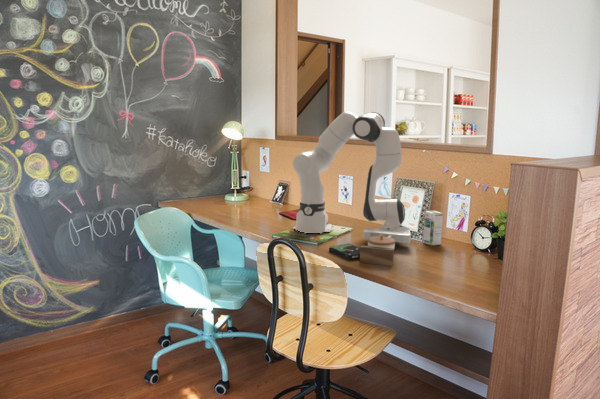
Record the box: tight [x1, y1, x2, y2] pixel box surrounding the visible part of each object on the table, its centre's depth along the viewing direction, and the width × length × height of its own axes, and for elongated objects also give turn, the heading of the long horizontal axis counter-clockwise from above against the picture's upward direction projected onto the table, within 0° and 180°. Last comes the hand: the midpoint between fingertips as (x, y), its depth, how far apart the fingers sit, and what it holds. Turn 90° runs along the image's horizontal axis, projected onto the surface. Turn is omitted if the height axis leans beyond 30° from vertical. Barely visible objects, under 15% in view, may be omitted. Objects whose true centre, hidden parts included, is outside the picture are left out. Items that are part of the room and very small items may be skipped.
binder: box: [278, 208, 300, 221], centre depth 263 cm, size 16×2×21 cm
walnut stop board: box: [359, 245, 395, 267], centre depth 177 cm, size 2×12×6 cm, turn 71°
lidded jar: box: [367, 235, 396, 250], centre depth 183 cm, size 11×11×9 cm
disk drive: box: [328, 243, 360, 262], centre depth 189 cm, size 10×3×15 cm
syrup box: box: [422, 210, 444, 246], centre depth 206 cm, size 6×6×14 cm
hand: (384, 239), depth 193 cm, fingers closed
